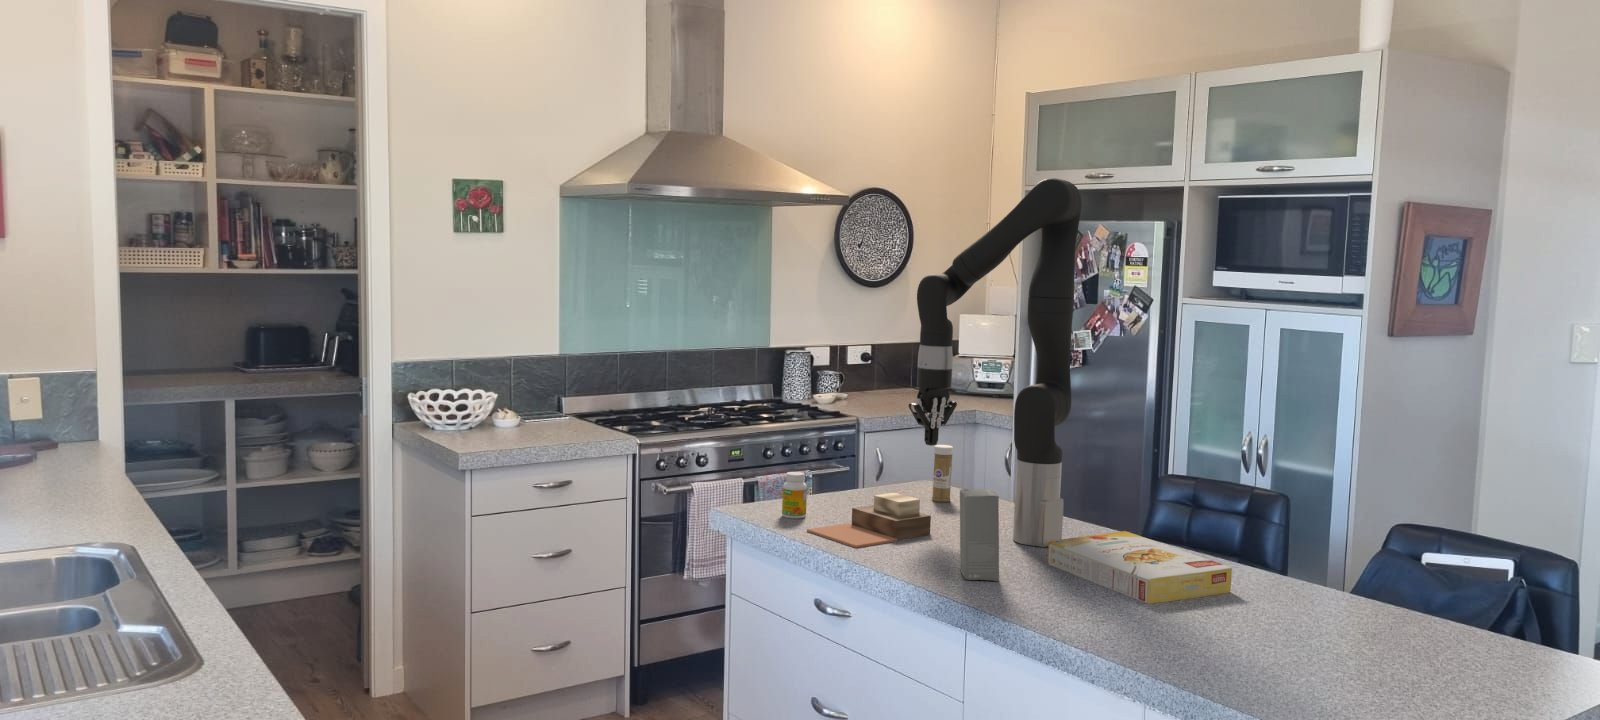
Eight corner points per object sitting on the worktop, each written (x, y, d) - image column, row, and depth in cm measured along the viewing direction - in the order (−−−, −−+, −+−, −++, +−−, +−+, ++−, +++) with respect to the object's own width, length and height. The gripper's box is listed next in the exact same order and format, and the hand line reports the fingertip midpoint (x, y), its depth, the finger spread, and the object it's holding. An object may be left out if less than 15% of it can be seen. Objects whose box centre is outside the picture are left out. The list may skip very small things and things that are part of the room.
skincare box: (999, 582, 215) (1003, 496, 214) (960, 580, 215) (964, 495, 214) (993, 569, 224) (997, 487, 222) (955, 568, 224) (959, 486, 222)
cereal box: (1125, 529, 238) (1235, 563, 213) (1124, 556, 239) (1233, 593, 214) (1046, 539, 229) (1151, 576, 204) (1045, 567, 229) (1149, 608, 204)
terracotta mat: (896, 541, 243) (896, 538, 243) (856, 547, 237) (856, 545, 237) (846, 525, 256) (846, 523, 256) (806, 531, 249) (807, 529, 249)
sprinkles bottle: (929, 501, 285) (932, 446, 283) (934, 497, 289) (936, 443, 288) (948, 503, 283) (950, 447, 282) (952, 499, 287) (955, 445, 286)
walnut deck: (930, 534, 251) (930, 515, 250) (895, 539, 244) (896, 520, 244) (885, 521, 262) (886, 503, 261) (851, 526, 255) (852, 508, 255)
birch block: (919, 513, 252) (920, 499, 252) (898, 516, 249) (899, 502, 248) (894, 506, 259) (894, 492, 258) (873, 509, 255) (874, 495, 255)
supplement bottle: (778, 517, 262) (780, 474, 261) (786, 512, 267) (787, 470, 266) (801, 519, 260) (803, 476, 259) (808, 515, 265) (810, 472, 264)
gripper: (924, 368, 250) (920, 449, 251) (968, 366, 258) (964, 445, 259) (900, 365, 256) (897, 444, 257) (944, 363, 264) (940, 440, 265)
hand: (931, 444), depth 258 cm, fingers closed
